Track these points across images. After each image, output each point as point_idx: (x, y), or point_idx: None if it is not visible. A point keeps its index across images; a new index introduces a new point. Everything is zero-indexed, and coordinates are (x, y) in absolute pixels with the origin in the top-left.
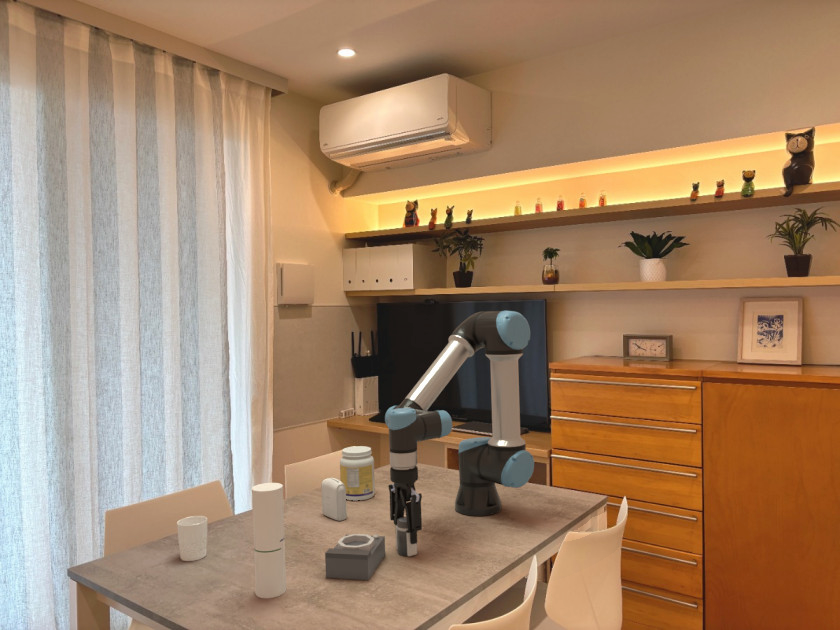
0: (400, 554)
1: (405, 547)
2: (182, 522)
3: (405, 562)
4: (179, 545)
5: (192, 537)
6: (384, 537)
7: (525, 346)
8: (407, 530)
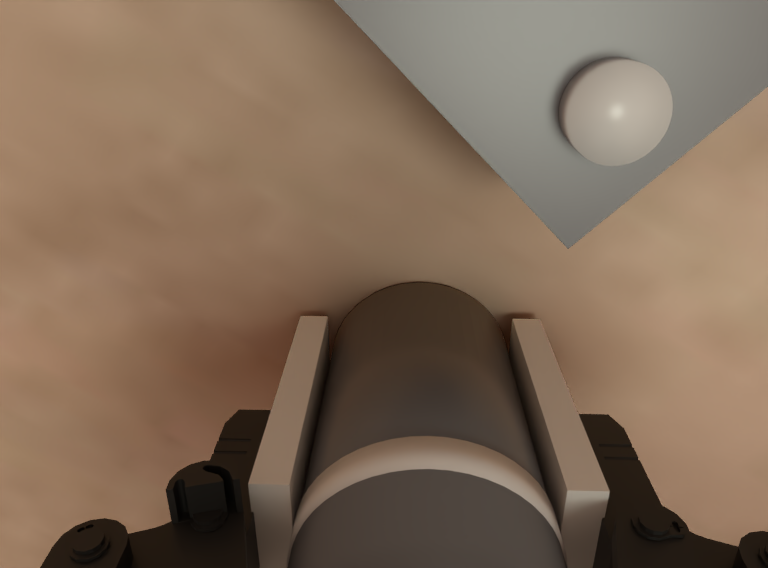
0: (403, 286)
1: (347, 352)
2: None
3: (227, 233)
4: None
5: None
6: (556, 234)
7: None
8: (218, 494)
